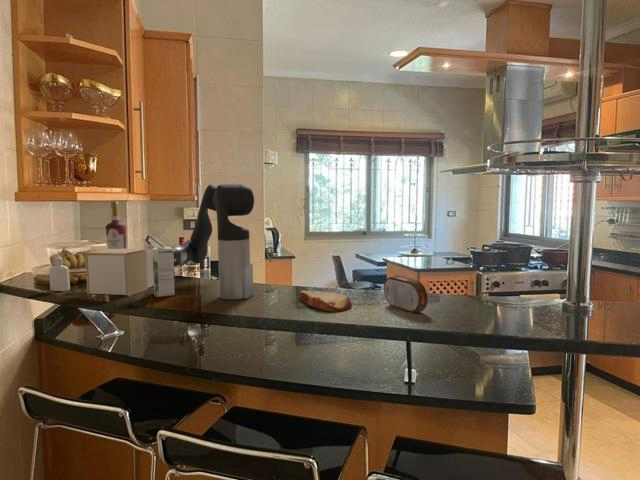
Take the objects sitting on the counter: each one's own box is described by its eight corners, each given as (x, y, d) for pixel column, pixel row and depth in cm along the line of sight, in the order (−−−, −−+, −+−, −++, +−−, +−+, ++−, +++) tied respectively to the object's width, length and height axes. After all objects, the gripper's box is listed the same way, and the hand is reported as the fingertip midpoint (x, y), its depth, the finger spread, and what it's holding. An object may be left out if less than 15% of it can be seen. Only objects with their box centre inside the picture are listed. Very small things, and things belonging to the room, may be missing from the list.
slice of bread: (303, 296, 145) (302, 284, 144) (361, 299, 139) (361, 286, 139) (279, 310, 128) (279, 296, 127) (344, 315, 122) (344, 300, 122)
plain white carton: (157, 284, 163) (156, 249, 161) (126, 295, 146) (124, 255, 145) (124, 283, 166) (122, 248, 164) (89, 293, 149) (87, 255, 148)
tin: (428, 314, 120) (428, 281, 119) (418, 316, 118) (419, 282, 117) (391, 303, 133) (391, 273, 132) (381, 304, 131) (381, 274, 130)
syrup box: (153, 293, 149) (151, 247, 147) (173, 292, 151) (171, 246, 150) (155, 297, 144) (153, 249, 142) (175, 295, 146) (173, 248, 145)
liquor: (131, 272, 191) (127, 201, 188) (124, 275, 183) (121, 202, 180) (112, 272, 190) (108, 201, 187) (105, 276, 183) (101, 202, 180)
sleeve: (147, 289, 156) (145, 249, 154) (128, 296, 146) (126, 253, 145) (108, 288, 159) (106, 248, 158) (87, 294, 149) (85, 252, 148)
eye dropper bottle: (61, 289, 159) (59, 252, 157) (72, 290, 156) (69, 253, 155) (48, 291, 155) (46, 254, 154) (59, 293, 152) (56, 255, 151)
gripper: (157, 246, 185) (129, 252, 168) (188, 247, 182) (162, 252, 165) (157, 266, 186) (130, 273, 169) (189, 266, 183) (163, 274, 166)
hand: (146, 263), depth 167 cm, fingers closed
